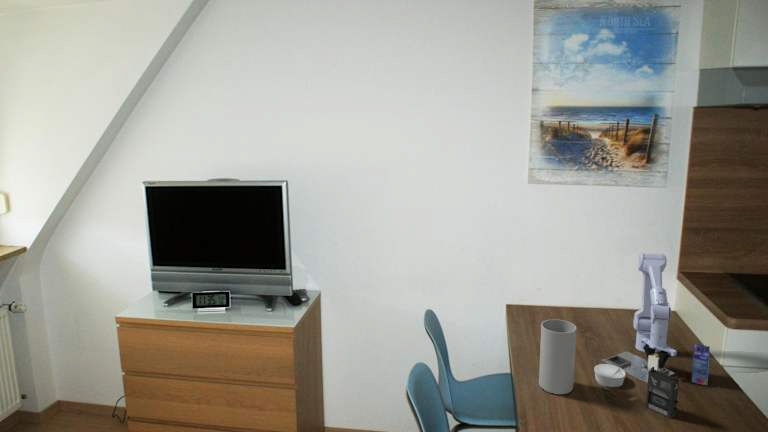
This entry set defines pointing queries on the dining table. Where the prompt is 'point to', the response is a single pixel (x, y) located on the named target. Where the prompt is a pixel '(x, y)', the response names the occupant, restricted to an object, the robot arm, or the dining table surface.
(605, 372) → the ramekin
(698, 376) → the ink cartridge box
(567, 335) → the cylinder vase
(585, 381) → the dining table surface
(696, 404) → the dining table surface
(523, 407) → the dining table surface
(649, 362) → the plug
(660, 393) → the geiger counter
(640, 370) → the switch plate
